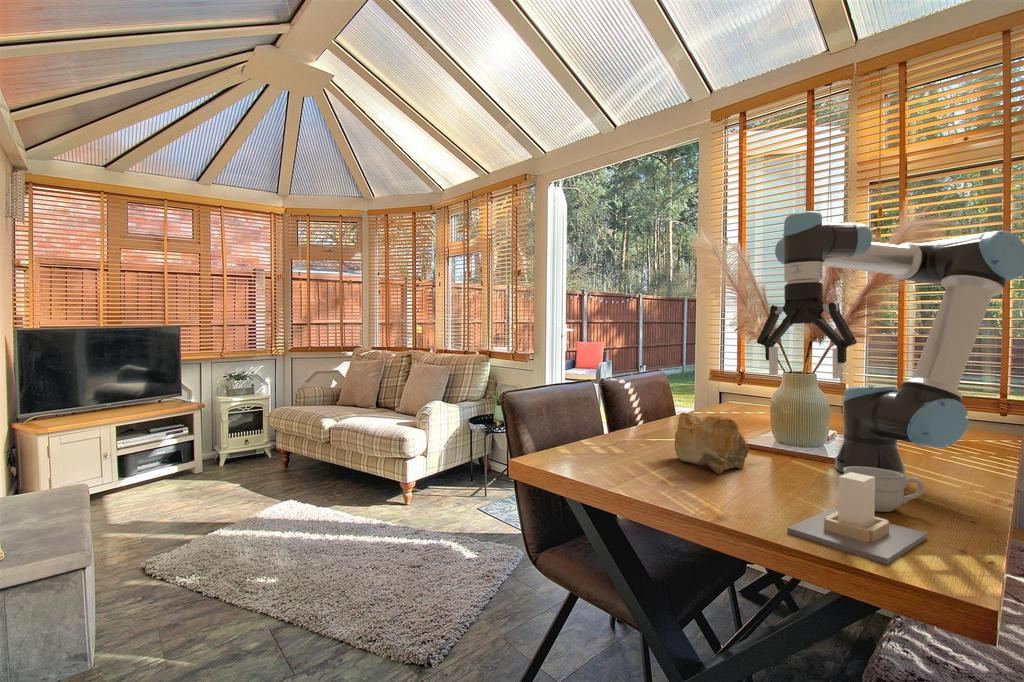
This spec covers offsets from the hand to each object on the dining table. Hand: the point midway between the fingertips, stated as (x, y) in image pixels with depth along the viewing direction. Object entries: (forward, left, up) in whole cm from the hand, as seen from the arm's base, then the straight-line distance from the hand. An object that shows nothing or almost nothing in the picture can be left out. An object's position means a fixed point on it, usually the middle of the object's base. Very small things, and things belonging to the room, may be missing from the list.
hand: (803, 376), depth 116 cm
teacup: (-5, +14, -28) cm, 31 cm away
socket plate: (+15, +17, -28) cm, 35 cm away
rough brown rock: (-7, -26, -28) cm, 39 cm away
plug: (+15, +17, -27) cm, 35 cm away
